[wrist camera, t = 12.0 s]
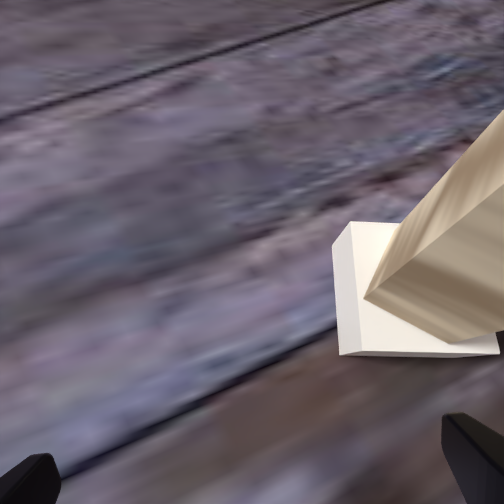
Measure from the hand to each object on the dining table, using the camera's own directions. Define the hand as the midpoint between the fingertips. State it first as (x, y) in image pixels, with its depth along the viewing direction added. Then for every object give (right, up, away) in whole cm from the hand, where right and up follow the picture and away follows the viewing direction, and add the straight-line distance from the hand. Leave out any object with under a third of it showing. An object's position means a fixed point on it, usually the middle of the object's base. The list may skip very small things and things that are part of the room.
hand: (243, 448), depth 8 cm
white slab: (+9, +1, +14) cm, 16 cm away
